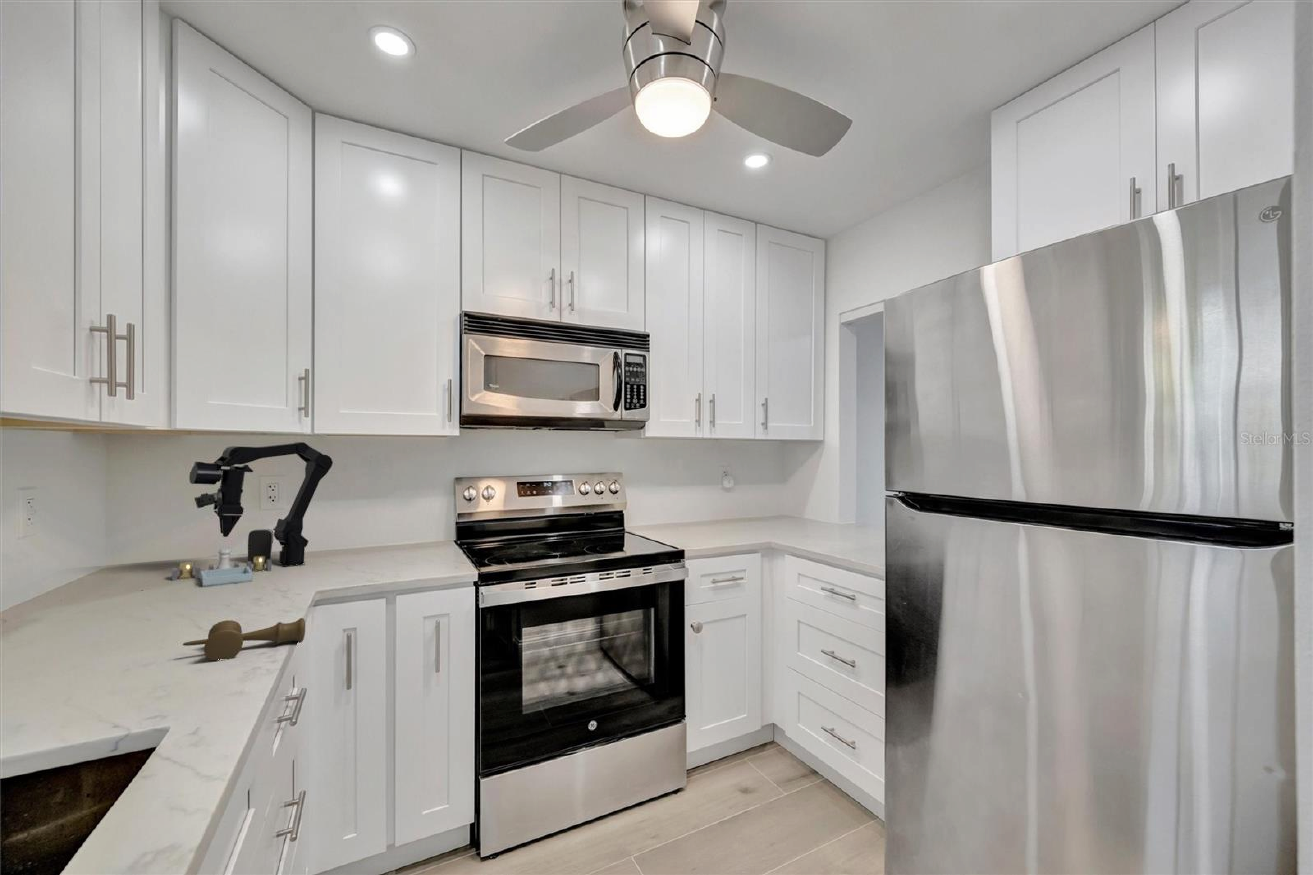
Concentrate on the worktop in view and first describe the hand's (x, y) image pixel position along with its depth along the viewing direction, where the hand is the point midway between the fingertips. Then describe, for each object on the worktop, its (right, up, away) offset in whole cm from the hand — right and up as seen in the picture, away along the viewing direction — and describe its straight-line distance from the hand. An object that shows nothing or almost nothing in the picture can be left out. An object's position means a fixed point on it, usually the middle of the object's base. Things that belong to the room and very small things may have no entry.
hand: (224, 535), depth 171 cm
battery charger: (-2, -13, +18) cm, 23 cm away
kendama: (+53, -13, -60) cm, 81 cm away
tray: (+7, -12, -8) cm, 16 cm away
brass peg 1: (-7, -12, -6) cm, 15 cm away
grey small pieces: (0, -12, 0) cm, 12 cm away
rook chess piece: (0, -13, 0) cm, 13 cm away
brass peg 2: (+7, -13, +6) cm, 16 cm away
